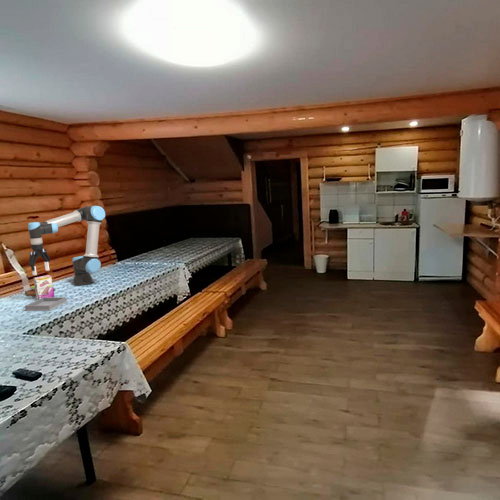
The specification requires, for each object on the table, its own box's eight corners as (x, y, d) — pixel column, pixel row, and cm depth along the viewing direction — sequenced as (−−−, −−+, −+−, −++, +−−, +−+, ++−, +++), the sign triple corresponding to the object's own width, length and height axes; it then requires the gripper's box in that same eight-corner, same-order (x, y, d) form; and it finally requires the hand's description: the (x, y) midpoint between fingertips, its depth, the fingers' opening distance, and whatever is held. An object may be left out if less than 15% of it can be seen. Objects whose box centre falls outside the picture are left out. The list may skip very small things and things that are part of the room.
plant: (47, 288, 314) (45, 274, 312) (58, 291, 302) (56, 277, 300) (20, 294, 299) (18, 280, 297) (31, 298, 287) (28, 283, 285)
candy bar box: (38, 301, 277) (35, 279, 274) (36, 299, 280) (32, 278, 277) (55, 297, 284) (51, 275, 281) (52, 295, 288) (49, 274, 285)
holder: (43, 302, 273) (43, 297, 272) (66, 301, 270) (66, 297, 269) (25, 310, 255) (24, 305, 255) (49, 310, 252) (49, 305, 252)
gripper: (43, 241, 287) (48, 268, 291) (19, 247, 263) (24, 277, 267) (52, 240, 286) (57, 268, 290) (29, 246, 262) (33, 276, 266)
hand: (41, 272), depth 278 cm, fingers open, 13 cm apart
